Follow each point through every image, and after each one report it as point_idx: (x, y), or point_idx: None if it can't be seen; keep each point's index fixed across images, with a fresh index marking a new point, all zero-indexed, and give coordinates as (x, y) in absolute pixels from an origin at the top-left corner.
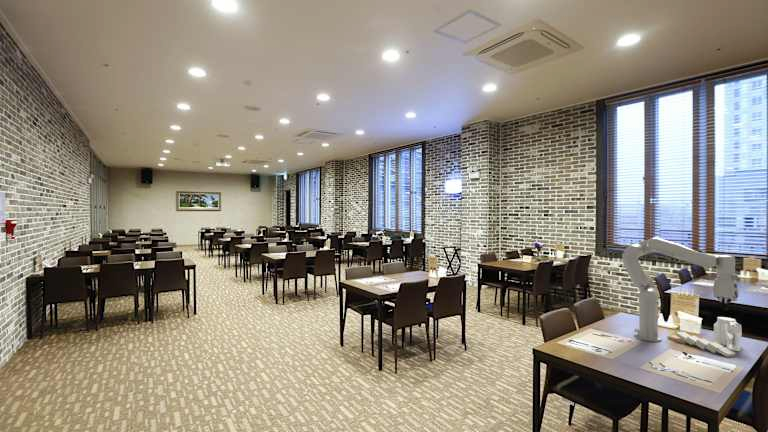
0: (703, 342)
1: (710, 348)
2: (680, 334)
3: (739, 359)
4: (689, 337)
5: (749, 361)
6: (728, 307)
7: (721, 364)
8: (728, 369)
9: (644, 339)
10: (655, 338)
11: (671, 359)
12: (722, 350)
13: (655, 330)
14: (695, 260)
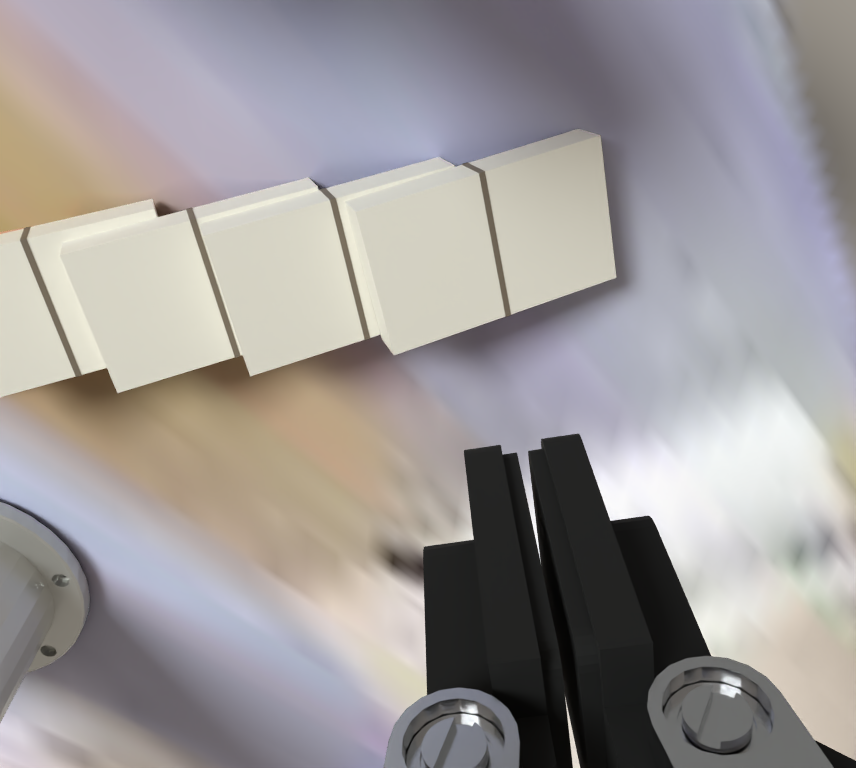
0: (314, 333)
1: None
2: (3, 383)
3: (687, 187)
4: (140, 377)
5: (769, 129)
6: (662, 550)
7: (734, 500)
8: (835, 542)
9: (48, 661)
10: (46, 595)
11: None
12: (545, 285)
13: (4, 670)
14: None
